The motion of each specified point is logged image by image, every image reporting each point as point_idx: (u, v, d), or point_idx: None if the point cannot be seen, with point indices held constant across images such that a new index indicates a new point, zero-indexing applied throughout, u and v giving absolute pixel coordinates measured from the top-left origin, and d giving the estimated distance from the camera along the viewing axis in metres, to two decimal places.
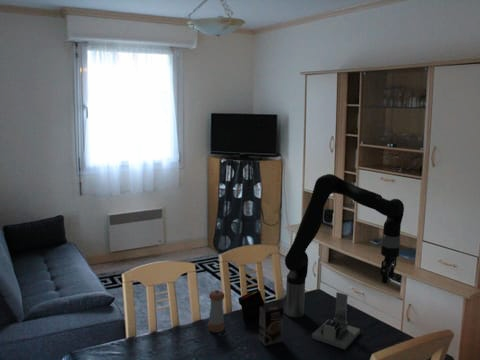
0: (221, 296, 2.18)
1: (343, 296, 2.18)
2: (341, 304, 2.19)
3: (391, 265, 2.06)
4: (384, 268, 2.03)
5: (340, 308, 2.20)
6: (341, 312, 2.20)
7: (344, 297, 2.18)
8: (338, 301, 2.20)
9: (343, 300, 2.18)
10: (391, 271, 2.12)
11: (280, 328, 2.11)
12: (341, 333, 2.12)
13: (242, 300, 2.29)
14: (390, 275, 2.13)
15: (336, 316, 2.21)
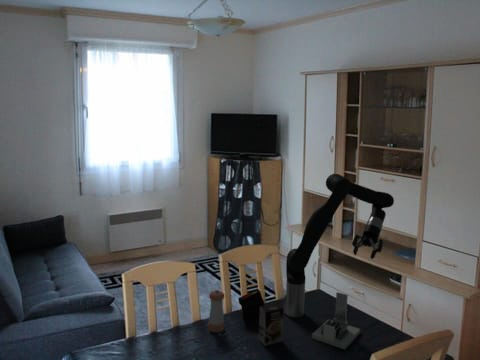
0: (221, 296, 2.18)
1: (343, 296, 2.18)
2: (341, 304, 2.19)
3: None
4: (381, 246, 2.29)
5: (340, 308, 2.20)
6: (341, 312, 2.20)
7: (344, 297, 2.18)
8: (338, 301, 2.20)
9: (343, 300, 2.18)
10: (357, 249, 2.33)
11: (280, 328, 2.11)
12: (341, 333, 2.12)
13: (242, 300, 2.29)
14: (355, 253, 2.32)
15: (336, 316, 2.21)
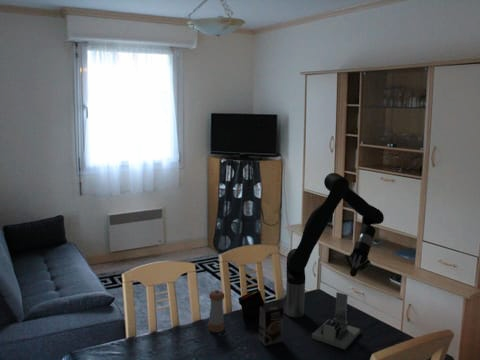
0: (221, 296, 2.18)
1: (343, 296, 2.18)
2: (341, 304, 2.19)
3: None
4: (365, 266, 2.28)
5: (340, 308, 2.20)
6: (341, 312, 2.20)
7: (344, 297, 2.18)
8: (338, 301, 2.20)
9: (343, 300, 2.18)
10: None
11: (280, 328, 2.11)
12: (341, 333, 2.12)
13: (242, 300, 2.29)
14: None
15: (336, 316, 2.21)
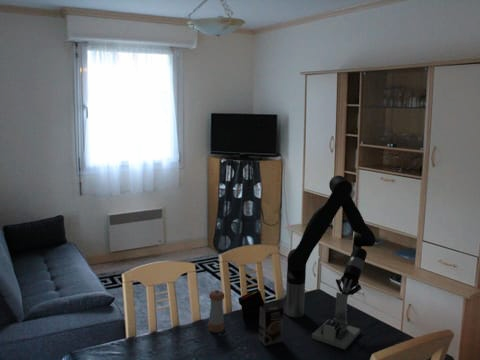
0: (221, 296, 2.18)
1: (343, 296, 2.18)
2: (341, 304, 2.19)
3: None
4: (356, 291, 2.21)
5: (340, 308, 2.20)
6: (341, 312, 2.20)
7: (344, 297, 2.18)
8: (338, 301, 2.20)
9: (343, 300, 2.18)
10: None
11: (280, 328, 2.11)
12: (341, 333, 2.12)
13: (242, 300, 2.29)
14: None
15: (336, 316, 2.21)
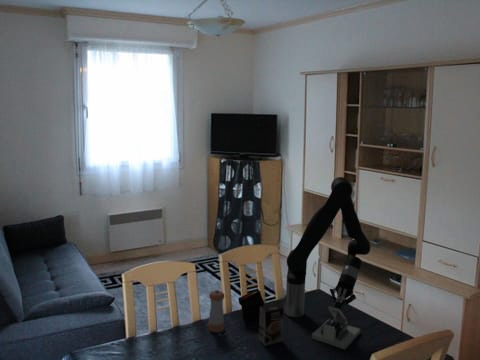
0: (221, 296, 2.18)
1: (335, 311, 2.12)
2: (336, 314, 2.15)
3: None
4: (351, 300, 2.16)
5: (337, 315, 2.17)
6: (339, 317, 2.18)
7: (337, 311, 2.12)
8: (332, 312, 2.15)
9: (337, 312, 2.13)
10: None
11: (280, 328, 2.11)
12: (341, 333, 2.12)
13: (242, 300, 2.29)
14: None
15: (336, 318, 2.21)
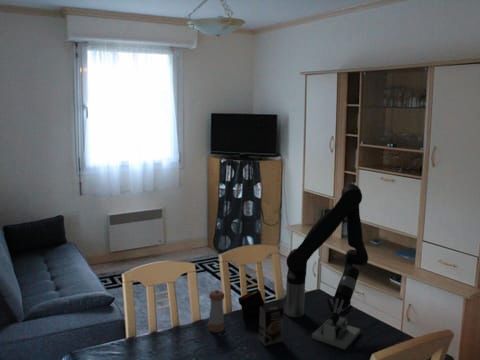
0: (221, 296, 2.18)
1: None
2: None
3: None
4: (348, 311, 2.15)
5: None
6: None
7: None
8: None
9: None
10: None
11: (280, 328, 2.11)
12: (341, 333, 2.12)
13: (242, 300, 2.29)
14: None
15: None
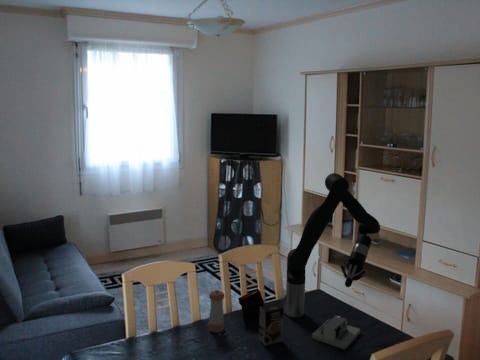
0: (221, 296, 2.18)
1: None
2: None
3: None
4: (361, 276, 2.25)
5: None
6: None
7: None
8: None
9: None
10: None
11: (280, 328, 2.11)
12: (341, 333, 2.12)
13: (242, 300, 2.29)
14: None
15: None
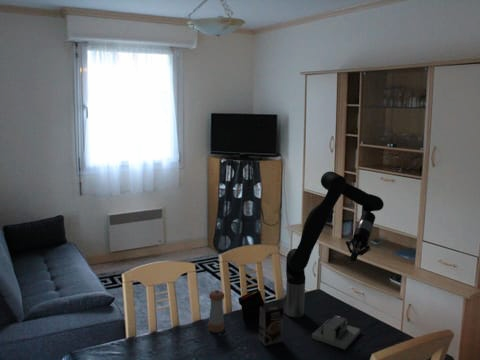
0: (221, 296, 2.18)
1: None
2: None
3: None
4: (365, 251, 2.31)
5: None
6: None
7: None
8: None
9: None
10: None
11: (280, 328, 2.11)
12: (341, 333, 2.12)
13: (242, 300, 2.29)
14: None
15: None
